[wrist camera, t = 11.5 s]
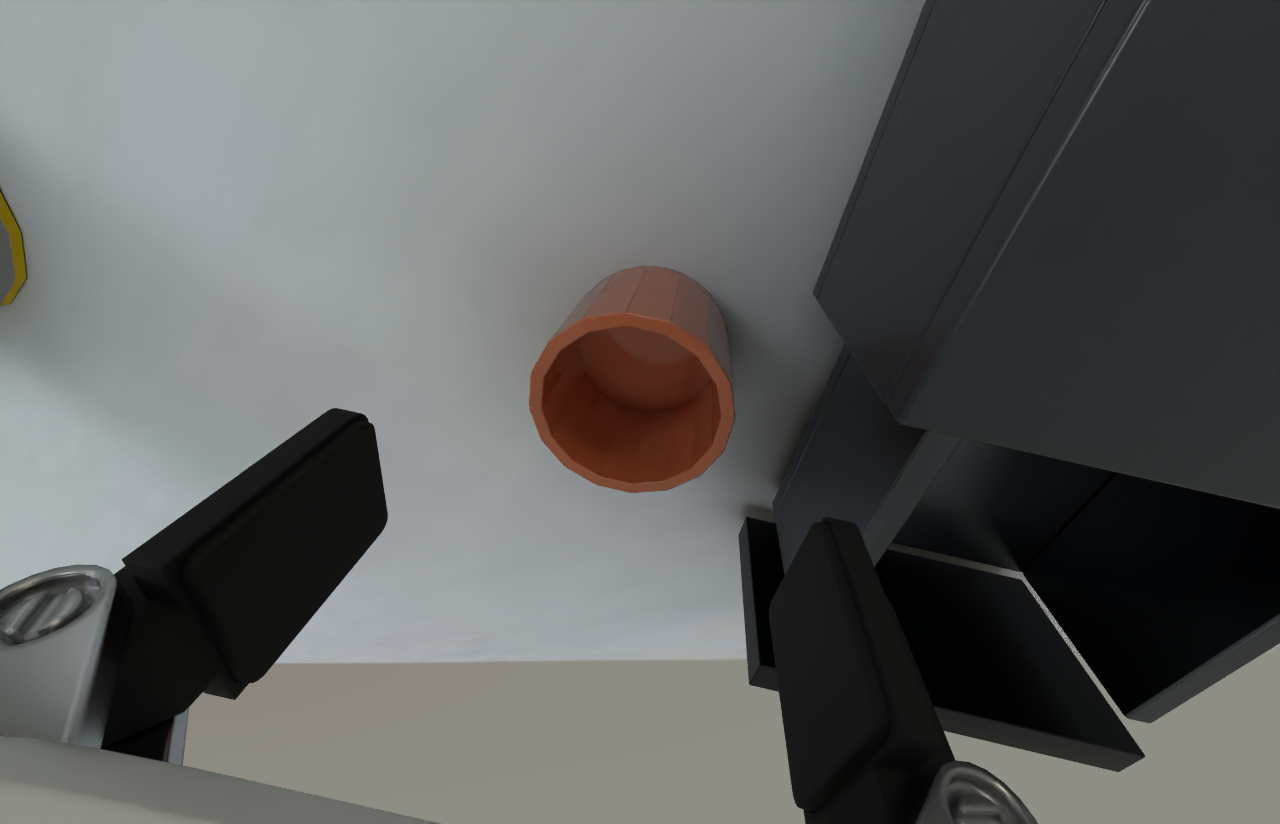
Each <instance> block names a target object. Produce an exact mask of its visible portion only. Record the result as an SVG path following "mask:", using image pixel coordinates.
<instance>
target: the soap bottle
mask: <svg viewBox="0 0 1280 824" xmlns="http://www.w3.org/2000/svg"><path fill="white" fill-rule="evenodd" d="M26 278H27V275H26V267H25V259H24V252H23V244H22V236H21V232H20V230H19V228H18V226H17V224H16V222H15V220H14V218H13V216H12V214H11V212H10V210H9V208H8V206H7V204H6V202H5V200H4V198H3V196H2V194H1V192H0V306H2V305H6V304H11V303H12V301H13V299H14V298H15V296H16V294H17V293H18V291H19V289H20V288H21V286H22V284H23V283H24V281H25V279H26Z"/></svg>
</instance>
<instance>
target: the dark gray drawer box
mask: <svg viewBox="0 0 1280 824" xmlns="http://www.w3.org/2000/svg"><path fill="white" fill-rule="evenodd" d="M813 295H814V296H815V298H816V299H817V301H818V303H819V304H820V306H821V307H822V309H823V310H824V312H825V313H826V315H827V316H828V318H829V319H830V321H831V323H832V324H833V326H834V327H835V329H836V330H837V332H838V333H839V335H840V336H841V338H842V339H843V341H844V343H845V344H846V346H847V347H848V349H849V350H850V352H851V353H852V355H853V356H854V358H855V359H856V361H857V362H858V364H859V366H860V367H861V369H862V370H863V372H864V373H865V375H866V376H867V378H868V379H869V381H870V382H871V384H872V386H873V387H874V389H875V390H876V392H877V393H878V395H879V396H880V398H881V399H882V401H883V402H884V403H885V404H887V407H888V408H889V410H890V412H891V413H892V415H893V416H894V418H895V419H896V421H897V422H898V423H900V424H902V425H907V426H911V427H916V428H920V429H924V430H929V431H933V432H938V433H942V434H947V435H951V436H956V437H960V438H965V439H969V440H974V441H978V442H982V443H987V444H991V445H996V446H1000V447H1005V448H1009V449H1014V450H1018V451H1023V452H1027V453H1032V454H1036V455H1041V456H1045V457H1049V458H1054V459H1058V460H1063V461H1067V462H1072V463H1076V464H1081V465H1085V466H1090V467H1094V468H1099V469H1103V470H1107V471H1112V472H1116V473H1121V474H1125V475H1130V476H1134V477H1139V478H1143V479H1148V480H1152V481H1157V482H1161V483H1165V484H1170V485H1174V486H1179V487H1183V488H1188V489H1192V490H1197V491H1201V492H1206V493H1210V494H1215V495H1219V496H1224V497H1228V498H1232V499H1237V500H1241V501H1246V502H1250V503H1255V504H1259V505H1264V506H1268V507H1273V508H1277V509H1280V0H926V3H925V6H924V8H923V11H922V13H921V16H920V18H919V21H918V24H917V26H916V29H915V31H914V34H913V36H912V39H911V42H910V44H909V47H908V49H907V52H906V54H905V57H904V60H903V62H902V65H901V67H900V70H899V72H898V75H897V78H896V80H895V83H894V85H893V88H892V90H891V93H890V96H889V98H888V101H887V103H886V106H885V108H884V111H883V114H882V116H881V119H880V121H879V124H878V127H877V129H876V132H875V134H874V137H873V139H872V142H871V145H870V147H869V150H868V152H867V155H866V157H865V160H864V163H863V165H862V168H861V170H860V173H859V175H858V178H857V181H856V183H855V186H854V188H853V191H852V193H851V196H850V199H849V201H848V204H847V206H846V209H845V211H844V214H843V217H842V219H841V222H840V224H839V227H838V229H837V232H836V235H835V237H834V240H833V242H832V245H831V247H830V250H829V253H828V255H827V258H826V260H825V263H824V265H823V268H822V271H821V273H820V276H819V278H818V281H817V284H816V286H815V289H814V291H813Z"/></svg>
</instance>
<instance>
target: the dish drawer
mask: <svg viewBox="0 0 1280 824" xmlns="http://www.w3.org/2000/svg"><path fill="white" fill-rule="evenodd" d="M773 508H774V514H775V521H776V523H772V522H768V521H763V520H759V519H754V518H750V517H746V519H745V521H744V523H743V526H742V528H741V530H740V533H739V547H740V561H741V575H742V590H743V604H744V618H745V633H746V647H747V661H748V675H749V684H750V685H752V686H757V687H761V688H766V689H769V690H774V691H778V692H779V688H778V680H777V673H776V665H775V658H774V651H773V643H772V636H771V628H770V621H769V609H770V604H771V601H772V599H773V597H774V595H775V593H776V591H777V589H778V587H779V586H780V584H781V582H782V580H783V578H784V576H785V574H786V572H787V570H788V569H789V567H790V565H791V563H792V561H793V559H794V557H795V555H796V554H797V552H798V550H799V548H800V546H801V544H802V542H803V540H804V538H805V537H806V535H807V533H808V531H809V529H810V527H811V525H812V524H813V523H814V522H821V521H822V519H824V518H825V517H831V518H835V519H840V520H844V521H849V522H853V523H855V524H856V525H857V526H858V528H859V530H860V532H861V535H862V538H863V540H864V543H865V545H866V548H867V550H868V553H869V555H870V558H871V560H872V563H873V565H874V568H875V570H876V573H877V575H878V578H879V580H880V583H881V586H882V588H883V591H884V593H885V596H886V598H887V599H888V600H889V601H890V602H891V604H892V606H893V608H894V610H895V612H896V614H897V617H898V619H899V622H900V624H901V627H902V629H903V632H904V634H905V637H906V639H907V642H908V644H909V647H910V649H911V652H912V654H913V657H914V659H915V662H916V664H917V667H918V669H919V671H920V674H921V676H922V679H923V681H924V684H925V686H926V689H927V691H928V694H929V696H930V699H931V701H932V704H933V706H934V709H935V711H936V714H937V716H938V719H939V721H940V724H941V726H942V729H943V731H947V732H952V733H956V734H960V735H964V736H968V737H972V738H977V739H981V740H985V741H989V742H994V743H998V744H1002V745H1006V746H1011V747H1015V748H1019V749H1023V750H1027V751H1032V752H1036V753H1040V754H1044V755H1049V756H1053V757H1057V758H1062V759H1066V760H1070V761H1074V762H1078V763H1083V764H1087V765H1091V766H1095V767H1099V768H1103V769H1108V770H1112V771H1116V772H1120V771H1121V770H1123V769H1125V768H1126V767H1128V766H1130V765H1132V764H1134V763H1135V762H1137V761H1139V760H1141V759H1142V758H1144V757H1145V755H1144V753H1143V752H1142V750H1141V749H1140V748H1139V746H1138V745H1137V743H1136V742H1135V741H1134V739H1133V738H1132V736H1131V735H1130V733H1129V732H1128V731H1127V729H1126V728H1125V726H1124V725H1123V723H1122V722H1121V721H1120V719H1119V718H1118V716H1117V715H1116V714H1115V712H1114V711H1113V709H1112V708H1111V707H1110V705H1109V704H1108V702H1107V701H1106V700H1105V698H1104V696H1103V695H1102V694H1101V692H1100V691H1099V689H1098V688H1097V686H1096V685H1095V684H1094V682H1093V681H1092V679H1091V678H1090V676H1089V675H1088V674H1087V672H1086V671H1085V669H1084V668H1083V667H1082V665H1081V664H1080V662H1079V661H1078V659H1077V658H1076V656H1075V655H1074V654H1073V652H1072V651H1071V649H1070V648H1069V647H1068V645H1067V644H1066V642H1065V641H1064V639H1063V638H1062V637H1061V635H1060V634H1059V632H1058V631H1057V629H1056V628H1055V627H1054V625H1053V624H1052V622H1051V621H1050V619H1049V618H1048V617H1047V615H1046V614H1045V612H1044V611H1043V609H1042V608H1041V607H1040V605H1039V604H1038V602H1037V601H1036V600H1035V598H1034V597H1033V595H1032V594H1031V592H1030V591H1029V590H1028V588H1027V587H1026V585H1025V584H1024V582H1023V581H1022V580H1020V579H1016V578H1012V577H1007V576H1003V575H999V574H994V573H990V572H985V571H981V570H977V569H972V568H968V567H964V566H959V565H955V564H951V563H946V562H942V561H938V560H933V559H929V558H924V557H920V556H916V555H911V554H907V553H903V552H898V551H894V550H890V549H887V548H888V547H889V545H890V544H891V543H892V542H893V543H897V544H901V545H906V546H910V547H914V548H919V549H923V550H927V551H932V552H936V553H941V554H945V555H949V556H954V557H958V558H962V559H967V560H971V561H975V562H980V563H984V564H989V565H993V566H997V567H1002V568H1006V569H1010V570H1015V571H1019V572H1023V575H1024V576H1025V577H1026V579H1027V580H1028V582H1029V583H1030V584H1031V586H1032V587H1033V589H1034V590H1035V591H1036V593H1037V594H1038V596H1039V597H1040V598H1041V600H1042V601H1043V603H1044V604H1045V605H1046V607H1047V608H1048V610H1049V611H1050V612H1051V614H1052V615H1053V617H1054V618H1055V619H1056V621H1057V622H1058V624H1059V625H1060V626H1061V628H1062V629H1063V631H1064V632H1065V633H1066V635H1067V636H1068V638H1069V639H1070V640H1071V642H1072V643H1073V645H1074V646H1075V647H1076V649H1077V650H1078V652H1079V653H1080V654H1081V656H1082V657H1083V659H1084V660H1085V661H1086V663H1087V664H1088V665H1089V667H1090V668H1091V670H1092V671H1093V672H1094V674H1095V675H1096V677H1097V678H1098V679H1099V681H1100V682H1101V684H1102V685H1103V687H1104V688H1105V689H1106V691H1107V692H1108V694H1109V695H1110V696H1111V698H1112V699H1113V701H1114V702H1115V703H1116V705H1117V706H1118V707H1119V709H1120V710H1121V712H1122V713H1123V714H1124V716H1125V717H1127V718H1129V719H1133V720H1137V721H1141V722H1146V723H1152V722H1154V721H1155V720H1157V719H1158V718H1160V717H1162V716H1163V715H1165V714H1166V713H1168V712H1170V711H1171V710H1173V709H1175V708H1176V707H1178V706H1179V705H1181V704H1182V703H1184V702H1186V701H1187V700H1189V699H1191V698H1192V697H1194V696H1195V695H1197V694H1199V693H1200V692H1202V691H1204V690H1205V689H1207V688H1208V687H1210V686H1211V685H1213V684H1215V683H1216V682H1218V681H1220V680H1221V679H1223V678H1224V677H1226V676H1228V675H1229V674H1231V673H1233V672H1234V671H1236V670H1237V669H1239V668H1240V667H1242V666H1244V665H1245V664H1247V663H1249V662H1250V661H1252V660H1254V659H1255V658H1257V657H1258V656H1260V655H1262V654H1263V653H1265V652H1266V651H1268V650H1270V649H1271V648H1273V647H1274V646H1276V645H1278V644H1279V643H1280V509H1277V508H1273V507H1268V506H1264V505H1259V504H1255V503H1250V502H1246V501H1241V500H1237V499H1232V498H1228V497H1224V496H1219V495H1215V494H1210V493H1206V492H1201V491H1197V490H1192V489H1188V488H1183V487H1179V486H1174V485H1170V484H1165V483H1161V482H1157V481H1152V480H1148V479H1143V478H1139V477H1134V476H1130V475H1125V474H1121V473H1116V472H1112V471H1107V470H1103V469H1099V468H1094V467H1090V466H1085V465H1081V464H1076V463H1072V462H1067V461H1063V460H1058V459H1054V458H1049V457H1045V456H1041V455H1036V454H1032V453H1027V452H1023V451H1018V450H1014V449H1009V448H1005V447H1000V446H996V445H991V444H987V443H982V442H978V441H974V440H969V439H965V438H960V437H956V436H951V435H947V434H942V433H938V432H933V431H929V430H924V429H920V428H916V427H911V426H907V425H902V424H900V423H898V422H897V421H896V419H895V418H894V416H893V415H892V413H891V412H890V410H889V408H888V407H887V404H885V403H884V402H883V401H882V399H881V398H880V396H879V395H878V393H877V392H876V390H875V389H874V387H873V386H872V384H871V382H870V381H869V379H868V378H867V376H866V375H865V373H864V372H863V370H862V369H861V367H860V366H859V364H858V362H857V361H856V359H855V358H854V356H853V355H852V353H851V352H850V350H849V349H848V347H847V346H846V344H845V345H844V347H843V349H842V351H841V354H840V356H839V358H838V360H837V362H836V365H835V367H834V369H833V371H832V374H831V376H830V378H829V380H828V382H827V385H826V387H825V389H824V391H823V393H822V396H821V398H820V400H819V402H818V404H817V407H816V409H815V411H814V413H813V415H812V418H811V420H810V422H809V424H808V426H807V429H806V431H805V433H804V435H803V437H802V440H801V442H800V444H799V446H798V448H797V451H796V453H795V455H794V457H793V459H792V462H791V464H790V466H789V468H788V470H787V473H786V475H785V477H784V479H783V481H782V484H781V486H780V488H779V490H778V492H777V495H776V497H775V499H774V501H773Z"/></svg>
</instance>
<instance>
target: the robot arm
mask: <svg viewBox="0 0 1280 824" xmlns="http://www.w3.org/2000/svg"><path fill="white" fill-rule="evenodd" d="M387 518H388V513H387V506H386V500H385V493H384V487H383V480H382V473H381V467H380V460H379V454H378V447H377V441H376V434H375V428H374V426H373V424H372V423H369V422H368V419H367V417H366V416H365V415H363V414H361V413H356V412H351V411H347V410H342V409H338V408H333V409H330V410H328V411H327V412H325V413H324V414H322V415H321V416H320V417H318V418H317V419H316V420H314V421H313V422H311V423H310V424H309V425H307V426H306V427H304V428H303V429H302V430H300V431H299V432H298V433H296V434H295V435H293V436H292V437H291V438H289V439H288V440H286V441H285V442H284V443H282V444H281V445H280V446H278V447H277V448H275V449H274V450H273V451H271V452H270V453H268V454H267V455H266V456H264V457H263V458H262V459H260V460H259V461H257V462H256V463H255V464H253V465H252V466H250V467H249V468H248V469H246V470H245V471H244V472H242V473H241V474H239V475H238V476H237V477H235V478H234V479H232V480H231V481H230V482H228V483H227V484H226V485H224V486H223V487H221V488H220V489H219V490H217V491H216V492H214V493H213V494H212V495H210V496H209V497H208V498H206V499H205V500H203V501H202V502H201V503H199V504H198V505H196V506H195V507H194V508H192V509H191V510H190V511H188V512H187V513H185V514H184V515H183V516H181V517H180V518H178V519H177V520H176V521H174V522H173V523H172V524H170V525H169V526H167V527H166V528H165V529H163V530H162V531H160V532H159V533H158V534H156V535H155V536H154V537H152V538H151V539H149V540H148V541H147V542H145V543H144V544H142V545H141V546H140V547H138V548H137V549H136V550H134V551H133V552H131V553H130V554H129V555H127V556H126V557H124V558H123V559H122V561H123V562H124V564H125V567H124V568H122V569H121V570H120V571H118V572H117V573H115V574H114V575H113V574H112V573H111V571H110V570H109V569H106V568H103V567H100V566H97V565H72V566H66V567H59V568H54V569H51V570H48V571H44V572H41V573H38V574H34V575H31V576H29V577H27V578H24V579H22V580H20V581H18V582H15V583H13V584H11V585H8V586H6V587H5V588H3V589H1V590H0V824H440V823H436V822H431V821H427V820H423V819H418V818H414V817H410V816H405V815H401V814H396V813H392V812H388V811H383V810H378V809H375V808H370V807H366V806H361V805H357V804H353V803H348V802H343V801H339V800H335V799H330V798H326V797H321V796H317V795H312V794H308V793H304V792H299V791H295V790H290V789H286V788H281V787H277V786H272V785H268V784H263V783H259V782H255V781H250V780H246V779H241V778H237V777H232V776H227V775H223V774H219V773H214V772H210V771H205V770H201V769H197V768H192V767H187V766H183V757H184V748H185V740H186V739H185V738H186V731H187V722H188V713H189V707H190V705H191V704H192V703H193V702H194V701H195V700H196V698H198V696H199V695H200V694H201V693H202V692H203V691H204V693H207V694H211V695H215V696H220V697H224V698H229V699H233V700H235V699H236V698H237V697H238V696H239V695H240V693H241V692H242V691H243V689H245V687H246V686H247V685H248V684H249V683H254V682H256V681H258V680H259V679H260V678H262V677H263V676H264V675H265V674H266V672H267V671H268V670H269V669H270V668H271V666H272V665H273V664H274V663H275V662H276V660H277V659H278V658H279V657H280V655H281V654H282V653H283V652H284V651H285V649H286V648H287V647H288V646H289V644H290V643H291V642H292V641H293V640H294V638H295V637H296V636H297V635H298V634H299V632H300V631H301V630H302V629H303V627H304V626H305V625H306V624H307V623H308V621H309V620H310V619H311V618H312V616H313V615H314V614H315V613H316V612H317V610H318V609H319V608H320V607H321V605H322V604H323V603H324V602H325V601H326V599H327V598H328V597H329V596H330V595H331V593H332V592H333V591H334V590H335V588H336V587H337V586H338V585H339V584H340V582H341V581H342V580H343V579H344V577H345V576H346V575H347V574H348V573H349V571H350V570H351V569H352V568H353V566H354V565H355V564H356V563H357V562H358V560H359V559H360V558H361V557H362V556H363V554H364V553H365V552H366V551H367V549H368V548H369V547H370V546H371V545H372V543H373V542H374V541H375V540H376V538H377V537H378V536H379V535H380V534H381V532H382V531H383V529H384V527H385V525H386V523H387ZM769 621H770V628H771V636H772V643H773V651H774V658H775V665H776V673H777V680H778V688H779V695H780V702H781V710H782V717H783V724H784V732H785V739H786V747H787V754H788V762H789V769H790V777H791V784H792V791H793V796H794V800H795V803H796V805H797V807H799V808H802V809H803V810H804V816H805V823H806V824H1038V823H1037V821H1036V820H1035V818H1034V817H1033V815H1032V814H1031V813H1030V811H1029V810H1028V809H1027V807H1026V806H1025V805H1024V804H1023V802H1022V801H1021V800H1020V798H1018V796H1017V795H1016V794H1015V793H1014V792H1013V791H1012V790H1010V788H1009V787H1008V786H1007V785H1006V784H1005V783H1003V782H1002V781H1001V780H999V779H998V778H997V777H995V776H994V775H993V774H991V773H990V772H988V771H987V770H985V769H983V768H981V767H979V766H976V765H974V764H972V763H970V762H963V761H956V760H955V758H954V756H953V753H952V751H951V749H950V746H949V743H948V741H947V738H946V736H945V734H944V731H943V729H942V726H941V724H940V721H939V719H938V716H937V714H936V711H935V709H934V706H933V704H932V701H931V699H930V696H929V694H928V691H927V689H926V686H925V684H924V681H923V679H922V676H921V674H920V671H919V669H918V667H917V664H916V662H915V659H914V657H913V654H912V652H911V649H910V647H909V644H908V642H907V639H906V637H905V634H904V632H903V629H902V627H901V624H900V622H899V619H898V617H897V614H896V612H895V610H894V608H893V606H892V604H891V602H890V601H889V600H888V599H887V598H886V596H885V593H884V591H883V588H882V586H881V583H880V580H879V578H878V575H877V573H876V570H875V568H874V565H873V563H872V560H871V558H870V555H869V553H868V550H867V548H866V545H865V543H864V540H863V538H862V535H861V532H860V530H859V528H858V526H857V525H856V524H855V523H853V522H849V521H844V520H840V519H835V518H831V517H825V518H824V519H822V521H821V522H814V523H813V524H812V525H811V527H810V529H809V531H808V533H807V535H806V537H805V538H804V540H803V542H802V544H801V546H800V548H799V550H798V552H797V554H796V555H795V557H794V559H793V561H792V563H791V565H790V567H789V569H788V570H787V572H786V574H785V576H784V578H783V580H782V582H781V584H780V586H779V587H778V589H777V591H776V593H775V595H774V597H773V599H772V601H771V604H770V609H769Z"/></svg>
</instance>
